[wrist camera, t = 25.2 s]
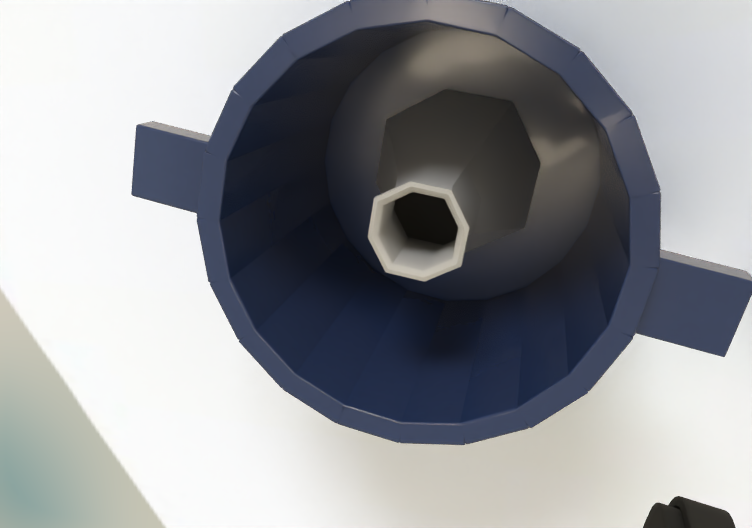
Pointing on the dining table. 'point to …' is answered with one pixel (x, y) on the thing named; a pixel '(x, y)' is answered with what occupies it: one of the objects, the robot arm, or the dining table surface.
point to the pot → (480, 266)
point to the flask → (450, 182)
